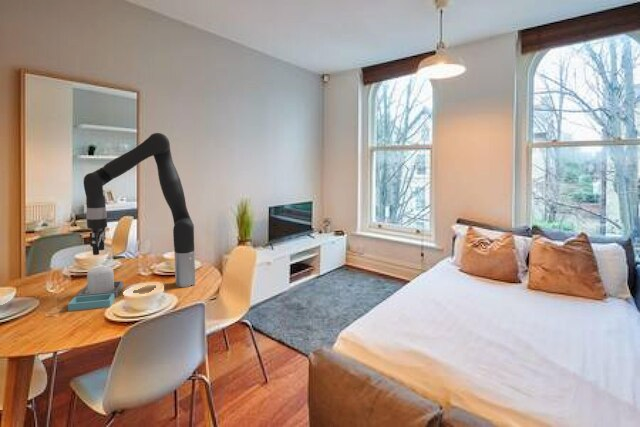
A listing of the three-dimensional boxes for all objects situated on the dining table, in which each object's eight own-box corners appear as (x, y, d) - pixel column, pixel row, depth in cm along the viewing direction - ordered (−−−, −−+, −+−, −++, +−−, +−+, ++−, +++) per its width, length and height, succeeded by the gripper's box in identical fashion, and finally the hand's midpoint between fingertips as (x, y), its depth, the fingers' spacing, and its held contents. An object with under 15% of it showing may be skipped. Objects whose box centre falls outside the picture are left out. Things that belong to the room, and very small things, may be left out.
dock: (114, 299, 145) (114, 293, 145) (110, 306, 138) (109, 300, 138) (75, 303, 140) (74, 296, 140) (68, 311, 133) (68, 304, 133)
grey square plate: (123, 285, 162) (123, 280, 161) (116, 297, 148) (115, 292, 148) (87, 288, 157) (87, 283, 156) (77, 300, 143) (76, 295, 143)
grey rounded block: (114, 289, 157) (112, 264, 155) (114, 292, 153) (113, 266, 152) (88, 293, 151) (86, 267, 149) (88, 296, 148) (86, 270, 146)
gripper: (102, 219, 142) (104, 256, 144) (110, 214, 155) (112, 248, 157) (81, 220, 139) (84, 257, 142) (91, 214, 152) (93, 248, 155)
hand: (98, 252), depth 149 cm, fingers open, 8 cm apart
